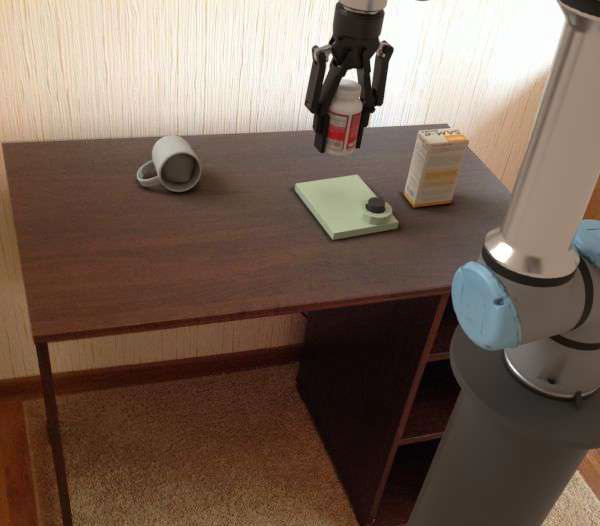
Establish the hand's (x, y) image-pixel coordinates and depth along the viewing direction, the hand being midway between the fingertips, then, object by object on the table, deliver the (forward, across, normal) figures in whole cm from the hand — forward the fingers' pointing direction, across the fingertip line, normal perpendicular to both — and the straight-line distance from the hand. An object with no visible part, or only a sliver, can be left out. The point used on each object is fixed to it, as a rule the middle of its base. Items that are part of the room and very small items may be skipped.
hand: (337, 146), depth 129 cm
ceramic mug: (+11, +26, -13) cm, 31 cm away
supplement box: (+11, -19, +4) cm, 22 cm away
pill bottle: (+1, 0, 0) cm, 1 cm away
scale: (+11, -2, +3) cm, 12 cm away
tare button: (+8, -5, +8) cm, 13 cm away
